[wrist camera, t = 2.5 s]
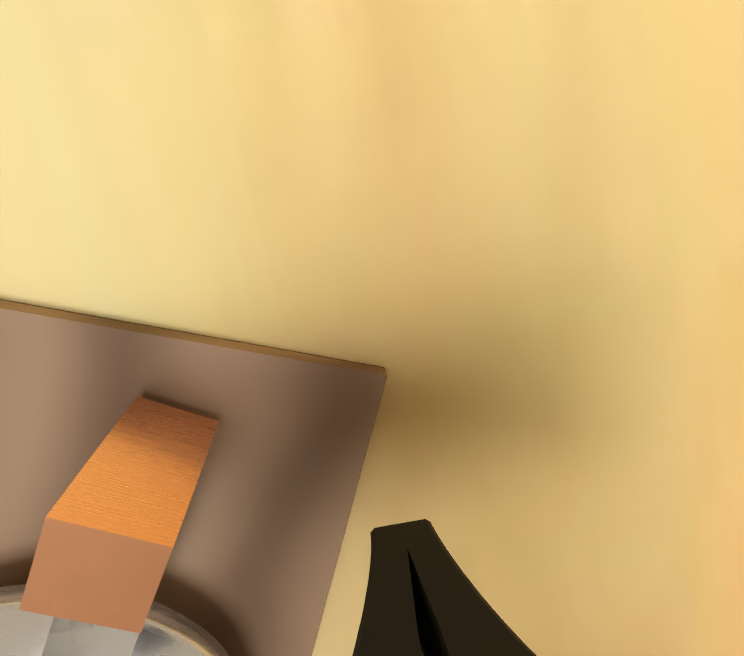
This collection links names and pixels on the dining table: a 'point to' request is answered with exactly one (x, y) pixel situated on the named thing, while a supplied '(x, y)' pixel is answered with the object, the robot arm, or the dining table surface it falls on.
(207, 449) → the metal lid
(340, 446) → the board
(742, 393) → the dining table surface
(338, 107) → the dining table surface
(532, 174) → the dining table surface
